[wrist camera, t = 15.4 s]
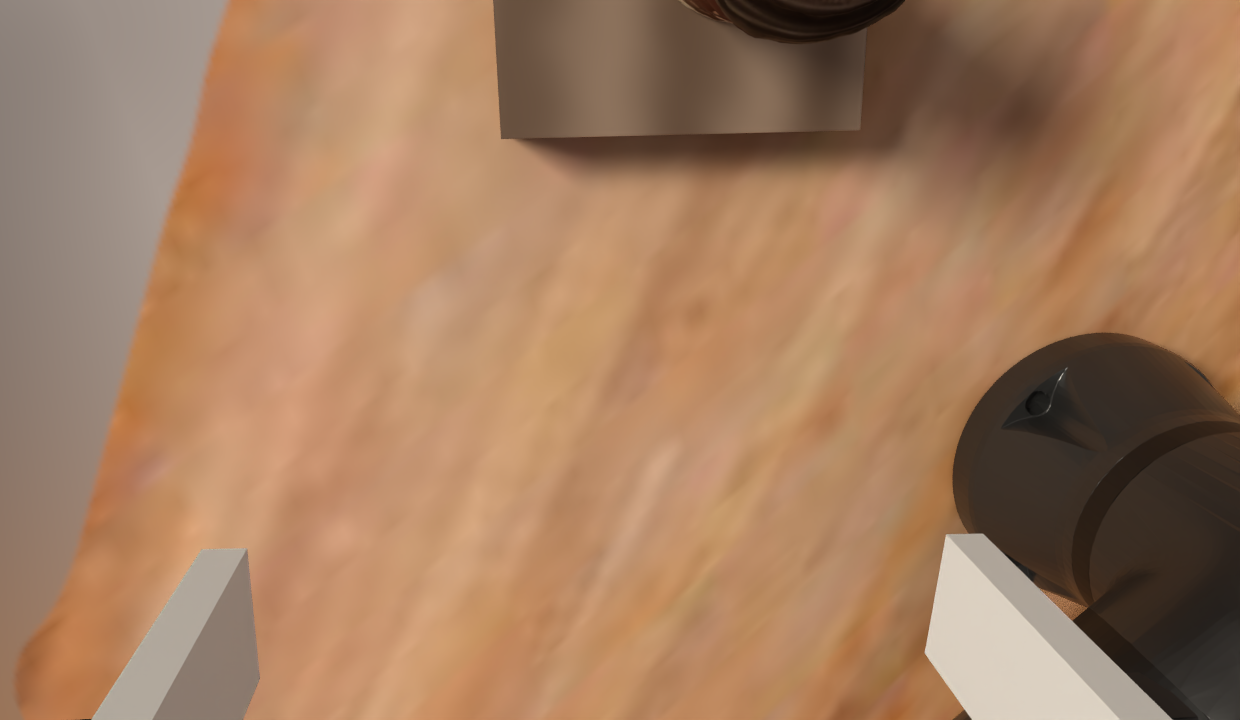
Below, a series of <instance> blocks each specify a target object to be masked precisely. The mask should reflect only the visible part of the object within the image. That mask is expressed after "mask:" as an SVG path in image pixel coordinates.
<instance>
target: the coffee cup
mask: <svg viewBox="0 0 1240 720" xmlns="http://www.w3.org/2000/svg"><path fill="white" fill-rule="evenodd" d="M679 1H680V2H681V3H682V4H683V5H685V6H686V7H687V8H689V9H691V10H693V11H695V12H697V13H699V14H702V15H704V16H706V17H708V18H711V19H713V20H716V21H723V22H730V23H733V24H734V25H735V26H736V27H737V28H739V29H740V30H742V31H744V32H745V33H746V34H748V35H750V36H752V37H754V38H760V39H768V40H772V41H776V42H779V43H788V44H812V43H818V42H825V41H830V40H833V39H836V38H838V37H842V36H846V35H851V34H854V33H857V32H859V31H861V30H863V29H864V28H866V27H869V26H870V25H872V24H874V23H876V22H877V21H879V20H880V19H882V18H884V17H885V16H887V15H889V14H891V13H892V12H894V11H895V10H896V9H897V8H898V7H899V6H900V5H901V4H902V3H903V2H904V1H905V0H679Z"/></svg>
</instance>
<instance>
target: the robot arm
mask: <svg viewBox="0 0 1240 720" xmlns="http://www.w3.org/2000/svg"><path fill="white" fill-rule="evenodd" d="M953 493H954V499H955V504H956V507H957V511H958V513H959V516H960V519H961V521H962V523H963V525H964V527H965V528H966V530H967V532H968V533H969V534H946V538H945V544H944V550H943V555H942V561H941V566H940V572H939V577H938V583H937V588H936V594H935V599H934V605H933V611H932V616H931V622H930V627H929V633H928V638H927V644H926V649H925V654H926V656H927V657H928V658H929V660H930V661H931V663H932V664H933V665H934V667H935V668H936V670H937V671H938V672H939V674H940V675H941V677H942V678H943V680H944V681H945V682H946V684H947V685H948V687H949V688H950V689H951V691H952V692H953V694H954V695H955V696H956V698H957V699H958V701H959V702H960V703H961V705H962V706H963V708H964V709H965V710H964V711H962V712H961V713H960V714H959V715H958V716H956V717H955V718H954V719H953V720H1240V415H1239V414H1238V413H1237V412H1236V411H1235V410H1234V409H1233V408H1232V407H1231V405H1230V404H1229V403H1228V402H1227V401H1226V400H1225V399H1224V398H1223V397H1222V396H1221V395H1220V394H1219V393H1218V392H1217V391H1216V390H1215V389H1214V388H1213V386H1212V385H1211V383H1210V382H1209V380H1208V379H1207V378H1206V377H1205V376H1204V375H1203V374H1202V372H1201V371H1200V370H1198V369H1197V368H1196V367H1195V366H1194V365H1192V364H1191V363H1189V362H1188V361H1186V360H1185V359H1183V358H1182V357H1180V356H1179V355H1177V354H1175V353H1173V352H1171V351H1168V350H1166V349H1164V348H1161V347H1159V346H1157V345H1154V344H1152V343H1150V342H1147V341H1145V340H1143V339H1140V338H1137V337H1133V336H1129V335H1124V334H1117V333H1093V334H1085V335H1079V336H1075V337H1070V338H1067V339H1064V340H1060V341H1058V342H1055V343H1053V344H1050V345H1048V346H1046V347H1044V348H1041V349H1039V350H1038V351H1036V352H1034V353H1032V354H1030V355H1029V356H1027V357H1026V358H1024V359H1022V360H1021V361H1020V362H1018V363H1017V364H1016V365H1014V366H1013V367H1012V368H1010V369H1009V370H1008V371H1007V372H1006V373H1005V374H1003V375H1002V376H1001V377H1000V378H999V379H998V380H997V381H996V382H995V383H994V384H993V385H992V386H991V388H990V389H989V390H988V391H987V392H986V393H985V395H984V396H983V397H982V399H981V400H980V401H979V403H978V404H977V406H976V407H975V409H974V410H973V412H972V414H971V416H970V417H969V419H968V421H967V423H966V425H965V427H964V430H963V432H962V435H961V437H960V440H959V443H958V446H957V450H956V454H955V459H954V466H953ZM1039 588H1041V589H1043V590H1046V591H1048V592H1051V593H1053V594H1055V595H1058V596H1060V597H1063V598H1065V599H1068V600H1070V601H1073V602H1075V603H1077V604H1080V605H1082V606H1085V607H1087V609H1086V610H1085V611H1084V612H1083V613H1081V614H1080V615H1079V616H1078V617H1077V618H1075V619H1074V620H1073V621H1072V620H1070V619H1069V618H1068V617H1067V616H1066V615H1065V614H1064V613H1063V612H1062V611H1061V610H1060V609H1059V608H1058V607H1057V606H1056V605H1055V604H1054V603H1053V602H1052V601H1051V600H1050V599H1049V598H1048V597H1047V596H1046V595H1045V594H1044V593H1043V592H1042V591H1041V590H1040V589H1039ZM259 679H260V674H259V664H258V654H257V644H256V634H255V624H254V614H253V603H252V593H251V583H250V573H249V563H248V553H247V548H241V549H202V550H201V551H200V553H199V554H198V556H197V557H196V559H195V560H194V562H193V563H192V565H191V567H190V568H189V570H188V571H187V573H186V574H185V576H184V577H183V579H182V580H181V582H180V584H179V585H178V587H177V588H176V590H175V591H174V593H173V594H172V596H171V597H170V599H169V601H168V602H167V604H166V605H165V607H164V608H163V610H162V611H161V613H160V614H159V616H158V618H157V619H156V621H155V622H154V624H153V625H152V627H151V628H150V630H149V631H148V633H147V635H146V636H145V638H144V639H143V641H142V642H141V644H140V645H139V647H138V648H137V650H136V652H135V653H134V655H133V656H132V658H131V659H130V661H129V662H128V664H127V665H126V667H125V668H124V670H123V672H122V673H121V675H120V676H119V678H118V679H117V681H116V682H115V684H114V685H113V687H112V689H111V690H110V692H109V693H108V695H107V696H106V698H105V699H104V701H103V702H102V704H101V706H100V707H99V709H98V710H97V712H96V713H95V715H94V716H93V718H92V719H82V720H243V718H244V716H245V713H246V711H247V708H248V706H249V704H250V701H251V699H252V696H253V694H254V692H255V689H256V687H257V684H258V682H259Z"/></svg>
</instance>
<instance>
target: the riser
mask: <svg viewBox="0 0 1240 720" xmlns="http://www.w3.org/2000/svg"><path fill="white" fill-rule="evenodd" d="M493 4H494V22H495V39H496V57H497V75H498V92H499V110H500V128H501V139H520V138H561V137H602V136H644V135H685V134H726V133H767V132H808V131H850V130H860V124H861V110H862V96H863V82H864V67H865V53H866V39H867V27H866V28H864V29H863V30H861V31H859V32H857V33H854V34H851V35H846V36H842V37H838V38H836V39H833V40H830V41H825V42H818V43H812V44H788V43H779V42H776V41H772V40H768V39H760V38H754V37H752V36H750V35H748V34H746V33H745V32H744V31H742V30H740V29H739V28H737V27H736V26H735V25H734V24H733V23H730V22H723V21H716V20H713V19H711V18H708V17H706V16H704V15H702V14H699V13H697V12H695V11H693V10H691V9H689V8H687V7H686V6H685V5H683V4H682V3H681V2H680V1H679V0H493Z"/></svg>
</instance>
